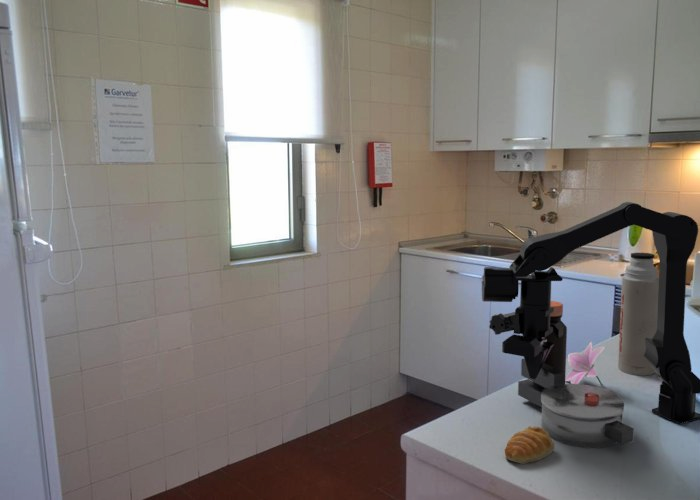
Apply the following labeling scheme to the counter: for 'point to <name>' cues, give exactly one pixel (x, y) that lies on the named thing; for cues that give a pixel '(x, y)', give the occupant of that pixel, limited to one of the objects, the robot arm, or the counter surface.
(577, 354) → the lily
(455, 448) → the counter surface
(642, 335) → the thermos bottle
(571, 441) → the pot
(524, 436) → the pastry
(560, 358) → the vinegar
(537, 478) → the counter surface
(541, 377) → the lid
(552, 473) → the counter surface
